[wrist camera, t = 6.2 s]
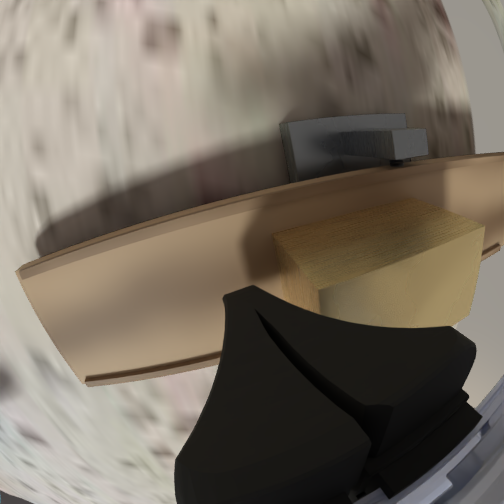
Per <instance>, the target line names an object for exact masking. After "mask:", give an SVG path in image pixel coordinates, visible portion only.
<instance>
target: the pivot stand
mask: <svg viewBox="0 0 504 504" xmlns="http://www.w3.org/2000/svg"><path fill="white" fill-rule="evenodd" d="M279 126H280V131H281V136H282V141H283V146H284V151H285V156H286V161H287V166H288V172H289V177H290V183H296V182H300V181H305V180H310V179H315V178H320V177H325V176H330V175H335V174H340V173H346V172H351V171H357V170H362V169H368V168H374V167H380V166H386V165H390V163H389V159H391V160H399V159H403V160H404V163H406V162H411V157H416V156H422V155H429V154H428V143H427V134H426V129H419V128H407V124H406V117H405V113H401V114H368V115H351V116H339V117H328V118H319V119H310V120H302V121H295V122H288V123H283V124H279Z"/></svg>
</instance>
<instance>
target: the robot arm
mask: <svg viewBox="0 0 504 504" xmlns="http://www.w3.org/2000/svg"><path fill="white" fill-rule="evenodd" d="M222 300H223V303H224V307H225V331H224V339H223V346H222V352H221V357H220V362H219V366H218V370H217V373H216V376H215V380H214V383H213V386H212V389H211V392H210V394H209V397H208V399H207V402H206V404H205V406H204V408H203V410H202V413H201V415H200V417H199V419H198V421H197V424H196V425H195V427H194V429H193V431H192V433H191V434H190V436H189V438H188V440H187V441H186V443H185V445H184V446H183V448H182V450H181V451H180V453H179V455H178V456H177V458H176V459H175V472H174V483H175V497H176V501H177V504H504V375H503V376H502V378H501V379H500V380H499V381H498V383H497V384H496V385H495V386H494V387H493V389H492V390H491V391H490V392H489V394H488V395H487V396H486V397H485V398H484V399H483V400H482V402H481V403H480V404H479V405H478V406H477V407H476V408H473V407H472V406H470V405H469V404H468V403H467V402H466V401H467V400H468V398H469V395H468V394H467V393H466V392H465V391H464V390H462V387H463V385H464V383H465V381H466V379H467V377H468V375H469V372H470V370H471V368H472V366H473V363H474V360H475V357H476V345H475V343H474V342H472V341H471V340H470V339H468V338H467V337H465V336H464V335H463V334H461V333H460V332H458V331H457V330H455V329H454V328H453V327H451V326H439V327H423V328H397V327H381V326H372V325H365V324H358V323H353V322H347V321H343V320H339V319H335V318H331V317H327V316H324V315H320V314H317V313H314V312H312V311H309V310H306V309H303V308H301V307H298V306H296V305H293V304H291V303H289V302H287V301H284V300H282V299H280V298H278V297H276V296H274V295H272V294H270V293H268V292H266V291H264V290H263V289H261V288H259V287H257V286H255V285H251V286H248V287H245V288H242V289H239V290H236V291H233V292H231V293H228V294H225V295H224V296H223V298H222Z"/></svg>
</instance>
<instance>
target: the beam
mask: <svg viewBox="0 0 504 504" xmlns="http://www.w3.org/2000/svg"><path fill="white" fill-rule="evenodd" d="M389 163H390V165H386V166H380V167H374V168H368V169H362V170H357V171H351V172H346V173H340V174H335V175H330V176H325V177H320V178H315V179H310V180H305V181H300V182H296V183H291V184H287V185H282V186H278V187H273V188H269V189H265V190H260V191H256V192H252V193H248V194H244V195H240V196H236V197H232V198H228V199H224V200H220V201H216V202H212V203H209V204H205V205H201V206H198V207H194V208H190V209H187V210H183V211H180V212H176V213H173V214H169V215H166V216H162V217H159V218H156V219H152V220H149V221H146V222H143V223H139V224H136V225H133V226H130V227H127V228H124V229H120V230H117V231H114V232H111V233H108V234H105V235H102V236H99V237H96V238H93V239H91V240H88V241H85V242H82V243H79V244H76V245H74V246H71V247H68V248H65V249H63V250H60V251H57V252H55V253H52V254H49V255H47V256H44V257H41V258H39V259H36V260H34V261H31V262H29V263H26V264H24V265H22V266H21V267H20V268H19V269H18V270H17V271H15V273H16V275H17V277H18V279H19V281H20V283H21V286H22V288H23V290H24V292H25V294H26V296H27V298H28V300H29V302H30V303H31V305H32V307H33V309H34V311H35V313H36V315H37V316H38V318H39V320H40V322H41V323H42V325H43V327H44V328H45V330H46V332H47V333H48V335H49V337H50V338H51V340H52V341H53V343H54V344H55V346H56V348H57V349H58V351H59V352H60V354H61V355H62V356H63V358H64V359H65V361H66V362H67V364H68V365H69V366H70V368H71V369H72V371H73V372H74V373H75V375H76V376H77V377H78V379H79V380H80V381H81V383H82V384H86V385H87V386H88V387H93V386H102V385H110V384H118V383H125V382H132V381H138V380H145V379H151V378H156V377H162V376H167V375H172V374H177V373H182V372H187V371H192V370H197V369H201V368H205V367H210V366H214V365H218V364H219V362H220V357H221V352H222V346H223V339H224V331H225V307H224V303H223V300H222V298H223V296H224V295H225V294H228V293H231V292H233V291H236V290H239V289H242V288H245V287H248V286H251V285H255V286H257V287H259V288H261V289H263V290H264V291H266V292H268V293H270V294H272V295H274V296H276V297H278V298H280V299H282V300H284V295H283V290H282V285H281V279H280V274H279V269H278V264H277V258H276V253H275V248H274V243H273V238H272V233H275V232H279V231H283V230H287V229H290V228H294V227H298V226H302V225H306V224H309V223H313V222H317V221H321V220H325V219H329V218H332V217H336V216H340V215H344V214H348V213H352V212H356V211H360V210H364V209H368V208H372V207H376V206H380V205H384V204H388V203H392V202H396V201H400V200H404V199H408V198H415V199H418V200H421V201H424V202H426V203H429V204H432V205H435V206H437V207H440V208H443V209H445V210H448V211H450V212H453V213H456V214H458V215H461V216H463V217H466V218H468V219H470V220H473V221H475V222H477V223H480V224H482V225H484V226H485V232H484V241H483V249H482V256H481V261H483V260H485V259H486V258H488V257H490V256H491V255H493V254H495V253H496V252H498V251H500V248H501V246H503V245H504V152H497V153H484V154H473V155H463V156H453V157H444V158H436V159H428V160H420V161H413V162H406V163H404V160H403V159H399V160H391V159H389Z"/></svg>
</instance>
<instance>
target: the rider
mask: <svg viewBox="0 0 504 504" xmlns="http://www.w3.org/2000/svg"><path fill="white" fill-rule="evenodd" d="M484 232H485V226H484V225H482V224H480V223H477V222H475V221H473V220H470V219H468V218H466V217H463V216H461V215H458V214H456V213H453V212H450V211H448V210H445V209H443V208H440V207H437V206H435V205H432V204H429V203H426V202H424V201H421V200H418V199H415V198H408V199H404V200H400V201H396V202H392V203H388V204H384V205H380V206H376V207H372V208H368V209H364V210H360V211H356V212H352V213H348V214H344V215H340V216H336V217H332V218H329V219H325V220H321V221H317V222H313V223H309V224H306V225H302V226H298V227H294V228H290V229H287V230H283V231H279V232H275V233H272V238H273V243H274V248H275V253H276V258H277V264H278V269H279V274H280V279H281V285H282V290H283V295H284V301H287V302H289V303H291V304H293V305H296V306H298V307H301V308H303V309H306V310H309V311H312V312H314V313H317V314H320V315H324V316H327V317H331V318H335V319H339V320H343V321H347V322H353V323H358V324H365V325H372V326H381V327H397V328H423V327H439V326H453V325H455V324H456V323H458V322H459V321H460V320H462V319H464V318H465V317H467V316H468V315H469V313H470V309H471V305H472V301H473V297H474V293H475V288H476V283H477V279H478V273H479V268H480V262H481V256H482V249H483V241H484Z"/></svg>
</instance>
